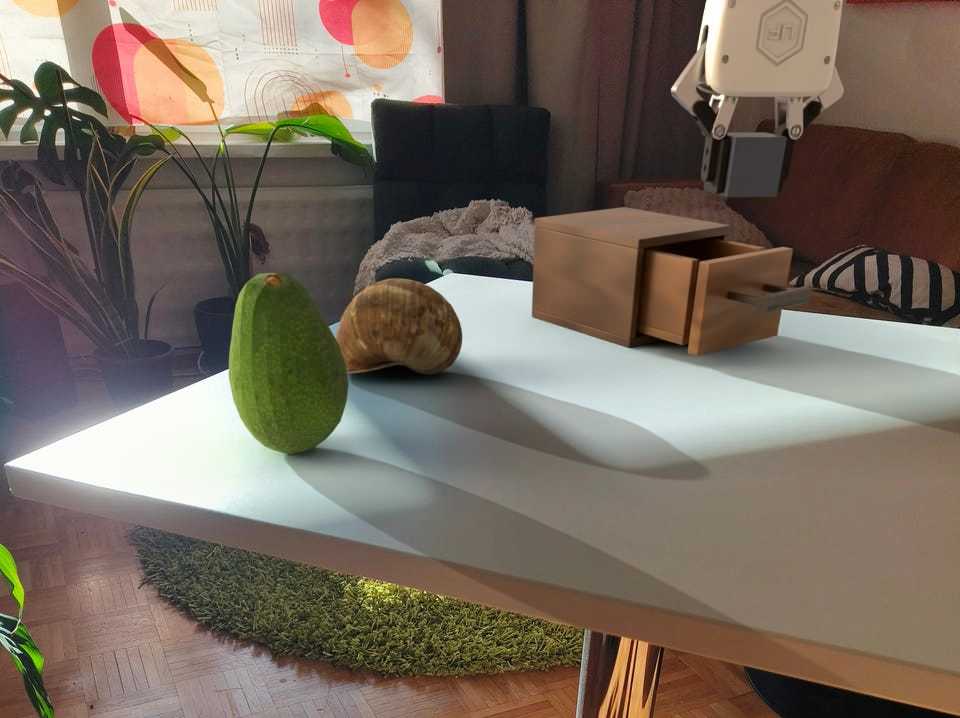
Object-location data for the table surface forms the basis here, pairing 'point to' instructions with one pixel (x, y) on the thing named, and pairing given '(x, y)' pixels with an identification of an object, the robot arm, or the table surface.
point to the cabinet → (602, 267)
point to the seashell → (399, 328)
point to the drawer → (714, 293)
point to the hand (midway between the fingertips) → (742, 188)
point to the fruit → (285, 365)
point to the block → (754, 164)
